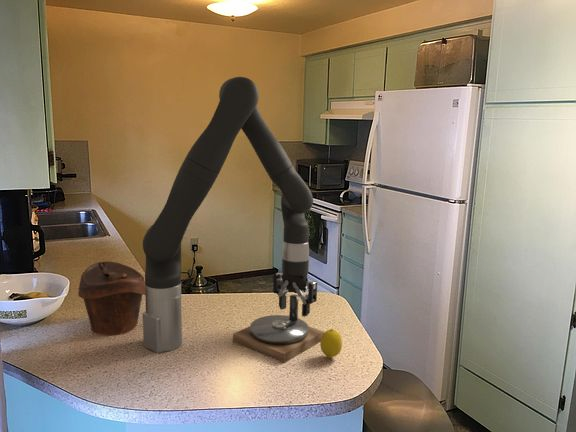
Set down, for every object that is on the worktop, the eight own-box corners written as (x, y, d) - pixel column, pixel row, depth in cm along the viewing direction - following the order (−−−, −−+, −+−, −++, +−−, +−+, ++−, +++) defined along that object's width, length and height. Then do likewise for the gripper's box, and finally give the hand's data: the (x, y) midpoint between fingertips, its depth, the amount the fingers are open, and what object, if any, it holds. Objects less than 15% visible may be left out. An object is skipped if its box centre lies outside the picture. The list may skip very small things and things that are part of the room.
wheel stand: (284, 363, 122) (284, 353, 122) (232, 342, 133) (232, 333, 133) (323, 339, 136) (324, 331, 136) (274, 322, 147) (274, 314, 147)
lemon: (327, 351, 129) (329, 322, 128) (345, 357, 126) (346, 328, 125) (315, 358, 125) (316, 329, 124) (333, 365, 122) (334, 335, 120)
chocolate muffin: (131, 343, 130) (129, 279, 127) (65, 335, 134) (61, 273, 131) (161, 319, 148) (159, 262, 145) (101, 313, 152) (99, 257, 149)
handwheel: (283, 350, 123) (284, 318, 121) (238, 332, 133) (238, 302, 131) (319, 330, 135) (320, 301, 134) (275, 315, 145) (275, 288, 144)
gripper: (267, 254, 137) (266, 309, 140) (308, 264, 128) (306, 322, 131) (283, 250, 143) (282, 302, 146) (324, 258, 134) (322, 314, 137)
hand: (293, 312), depth 138 cm, fingers open, 7 cm apart
